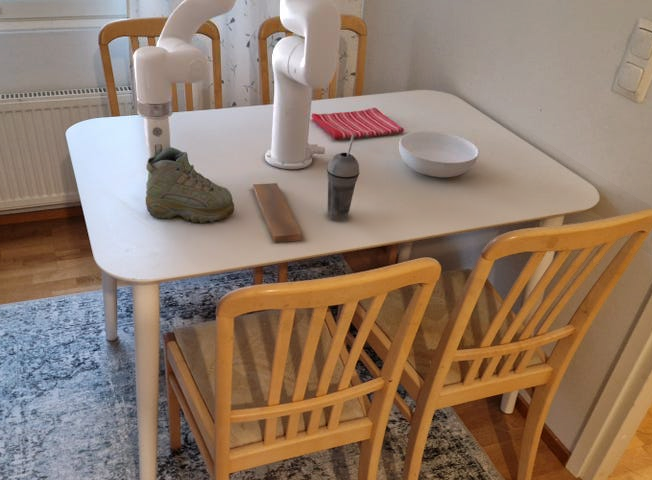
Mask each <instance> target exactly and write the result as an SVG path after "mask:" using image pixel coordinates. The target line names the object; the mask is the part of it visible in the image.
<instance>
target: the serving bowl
mask: <svg viewBox="0 0 652 480" xmlns="http://www.w3.org/2000/svg"><path fill="white" fill-rule="evenodd" d="M398 142H399V143H398V148H399V149H398V151H399V155H400V157H401V159H402V160H403V162H404V163H405V165H407V166H408V167H409V168H410V169H412V170H413V171H415V172H417V173H419V174H422V175H426V176H430V177H435V178H436V177H437V178H452V177H457V176H460V175H463V174H466V173H467V172H468V171H470V170H471V169H472V168H473V166H474V165H475V164H476V162H477V160H478V158H479V156H480V150H479V147H477V145H475V144H474V143H473V142H471V141H470V140H468V139H466V138H464V137H462V136H458V135H455V134H452V133H446V132H443V131H442V132H441V131H435V130H417V131H412V132H408V133H406V134H404V135H402V136H401V137H400V139H399V141H398Z"/></svg>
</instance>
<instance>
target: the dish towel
mask: <svg viewBox="0 0 652 480" xmlns="http://www.w3.org/2000/svg"><path fill="white" fill-rule="evenodd" d="M311 118H312V119H311V121H312V122H313V123H315V125H317V126H318V127H319V128H320V129H322V130H323V131H324V132H325V133H326V134H327V135H328V136H329V137H330V138H331V139H332V140H334V141H338V140H348V139H350V140H351V137H352V135H354V139H360V138H368V137H377V136H378V137H379V136H388V135H394V134H398V133H399V134H400V133H403V132H404V131H405V129H404V127H402V126H400V125H399V124H398V123H396V122H395V121H393V120H392V119H391V118H390V117H388V116H386V115H385V114H384V113H382V112H381V111H380V110H379V109H378V108H377V107H372V108H368V109H362V110H353V111H343V112H342V111H341V112H331V113H312V114H311Z"/></svg>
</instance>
